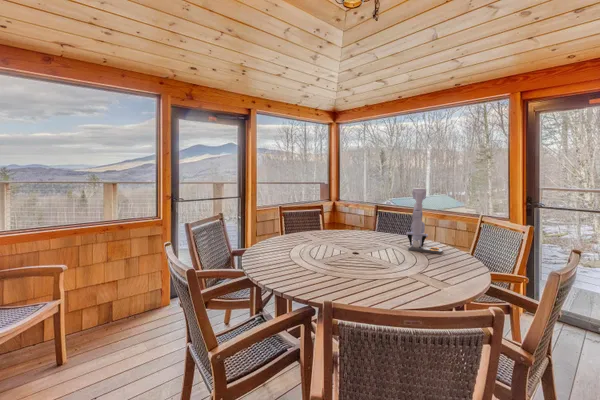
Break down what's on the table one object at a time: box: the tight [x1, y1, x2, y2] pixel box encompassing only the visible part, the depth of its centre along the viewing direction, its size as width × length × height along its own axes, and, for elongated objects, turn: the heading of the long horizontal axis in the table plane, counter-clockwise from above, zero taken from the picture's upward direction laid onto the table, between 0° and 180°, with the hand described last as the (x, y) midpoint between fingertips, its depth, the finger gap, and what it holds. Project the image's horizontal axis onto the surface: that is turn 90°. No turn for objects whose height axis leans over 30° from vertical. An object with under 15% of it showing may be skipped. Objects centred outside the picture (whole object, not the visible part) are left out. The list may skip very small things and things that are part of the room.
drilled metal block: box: [412, 240, 420, 248], centre depth 220 cm, size 4×4×7 cm
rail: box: [407, 244, 444, 255], centre depth 217 cm, size 8×22×2 cm, turn 60°
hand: (416, 245), depth 220 cm, fingers open, 7 cm apart
